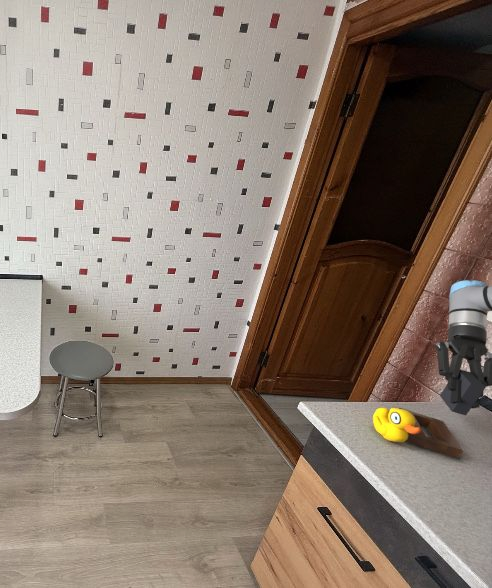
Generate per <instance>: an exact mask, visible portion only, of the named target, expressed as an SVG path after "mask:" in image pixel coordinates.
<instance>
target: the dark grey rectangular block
mask: <svg viewBox="0 0 492 588" xmlns="http://www.w3.org/2000/svg"><path fill="white" fill-rule="evenodd" d="M457 379H460V380H462V383H461V402H459V403H451V390H448V388H447V385H448V383H446V385H445V387H444V388H443V390H442V391H441V393H440V394H439V397H440V398H441V400H442V401H443V402H444V404H445V405H446V407H448V409H449V410H450V411H451V412H452V413H455V414H458V415H462V416H467V415H468V413H469V412H470V411H471V409H473V408H472V406H473V405H474V404H475V402H476V401H477V399H478V398H479V396H480V395H481V394H482V392H483V393H484V392H485V390H486V388H487V387H485V386H484V385H483V384H482V383H481V382H480V381H479V380H478V379H477V378H476V377H475V376H474V375H473V374H472V373H471V372H470V371H467V370H464V369H460V372H459V376H458V378H457ZM479 399H480V398H479Z"/></svg>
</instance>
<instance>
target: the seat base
mask: <svg viewBox="0 0 492 588" xmlns="http://www.w3.org/2000/svg"><path fill="white" fill-rule="evenodd" d="M398 409H402V410H406V411H408V412H410V413H411V414H412V415H413V416H414V418H415V425H414V427H415V428H417V427H418V428H420V429H421V431H420V432H419V433H418V434H411V433H408V438H407V440H406V441H407V442H408V443H410V444H413V445H416V446H418V447H421V448H424V449H427V450H430V451H434V452H437V453H439V454H442V455H445V456H448V457H451V458H454V459H456V460H458V459H459V457H460V456H461V455H462V454H463V452H464V449H463V447H462V446H461V444H460V443H459V441H458V440H457V439H456V437H455V436H454V435H453V433H452V432H451V430H450V429H449V428H448V426H447V424H446V423H445V422H444V421H443V420H441V419H438V418H434V417H432V416H428V415H425V414H421V413H418V412H414V411H411V410H409V409H406V408H401V407H398ZM422 427H424V428H426V429H427V430H428V432H429V434H430V435H431V436H428V435H426V433H425V431H424V430H423V428H422Z"/></svg>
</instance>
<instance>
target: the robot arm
mask: <svg viewBox="0 0 492 588" xmlns="http://www.w3.org/2000/svg"><path fill="white" fill-rule="evenodd" d="M448 298H449V301H448V302H449V308H448V309H449V310H448V325H447V326H448V329H447V340H446V341H439V342H436V343H435V344H434V348H435V350H436V352H437V365H438V367H437V368H438V369H437V370H438V375H439V376H441V377H444V379H445V381H447V384H448V385H447V384H446V385H447V388H448V390H451V403H459V402H461V383H462V380H460V379H457V378H458V376H459V372H460V370H461V367H462V364H463V361H464V359H465V360H466V363H467V364H468V367H469V372H471V373H472V374H473V375H474V376H475V377H476V378H477V379H478V380H479V381H480V382H481V383H482V384H483V385H484V386H485V387H486V388H487V387H491V386H492V352H490V351H489V349H488V347H487V340H488V338H487V337H488V331H487V329H488V312H492V285H487V284H486V283H485V282H483V281H480V280H475V279H474V280H468V279H466V280H460V281H456V282H454V283H453V284H452V285H451V287H450V292H449V296H448ZM449 350H450V351H451V357H449V356H450V355H449ZM483 356H484V357H483ZM482 357H483V360H484V363H483V367H482V361H483V360H482ZM450 359H451V360H450ZM483 397H484V391H483V392H482V394H481V395H480V396H479V398H478V399H477V401H476V402H475V404H474V405H473V406H472V408H471V409H478V408H480V398H483Z"/></svg>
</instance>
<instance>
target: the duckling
mask: <svg viewBox="0 0 492 588" xmlns="http://www.w3.org/2000/svg"><path fill="white" fill-rule="evenodd" d="M402 409H403V408H402ZM402 409H399V407H398V408H397V407H391V408H390V409H388V408H386V407H379V408H377V409H376V410H375V411H374V413H373V415H372V422H373V426H374V429H375V430H376V432H377V433H379V434H380V435H381V436H382V438H384V439H385V440H387V441H389V442H393V443H404V442H406V441H408V440H407V438H408V433H411V434H418V433H419V432H420V431H421V429H420V428H418V427H417V428H415V427H414V425H415V418H414V416H413V415H412V414H411V413H410V412H408V411H406V410H407V409H405V410H402Z"/></svg>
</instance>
